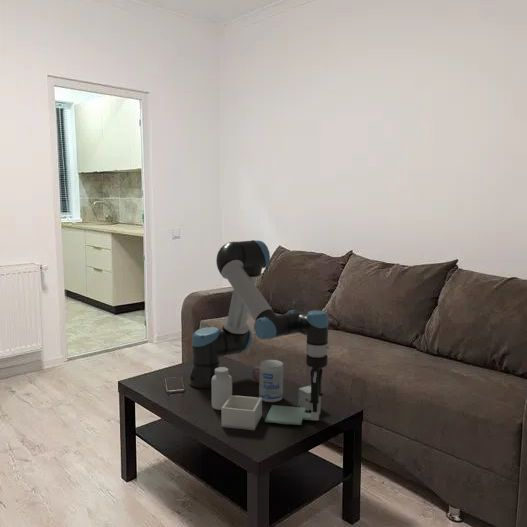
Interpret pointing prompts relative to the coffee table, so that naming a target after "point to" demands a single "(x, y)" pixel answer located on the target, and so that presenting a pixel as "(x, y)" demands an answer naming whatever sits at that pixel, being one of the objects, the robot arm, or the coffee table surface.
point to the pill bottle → (221, 387)
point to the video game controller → (256, 373)
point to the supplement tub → (271, 380)
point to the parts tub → (241, 412)
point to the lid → (287, 415)
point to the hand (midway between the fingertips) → (315, 416)
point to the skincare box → (305, 397)
